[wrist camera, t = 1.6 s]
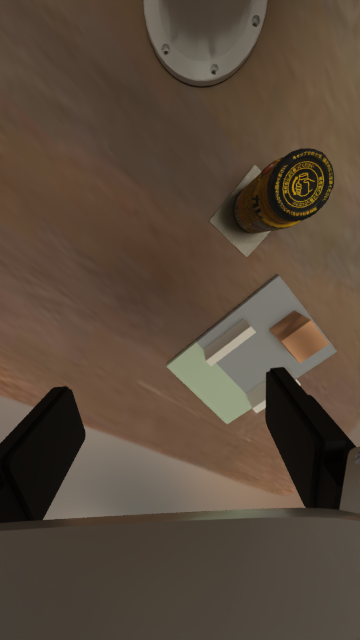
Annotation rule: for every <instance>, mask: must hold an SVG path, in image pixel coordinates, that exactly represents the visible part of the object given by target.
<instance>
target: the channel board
mask: <svg viewBox="0 0 360 640" xmlns="http://www.w3.org/2000/svg"><path fill="white" fill-rule="evenodd" d="M294 310H295V311H296V312H298V313H300V314H302V315H303V316H305V317H307V318H309V319H310V320H312V322H313V323H314V324H315V326H316V327H317V328H318V330H319V331H320V332H321V334H322V335H323V336H324V337H325V339H326V340H327V341H328V343H329V344H328V345H327V346H325V347H324V348H322V349H321V350H319V351H318V352H316V353H315V354H313V355H312V356H311V357H309V358H308V359H306V360H305V361H303V362H302V363H299V362H298V361H297V360H296V359H295V358H294V357H293V356H292V355H291V354H290V353H289V352H288V351H287V350H286V349H285V348H284V347H283V345H282V344H281V343H280V342H279V341H278V339H277V338H276V337H275V336H274V335H273V333H272V332H271V331H270V330H269V329H270V328H271V327H273V326H274V325H275V324H277V323H278V322H279V321H281V320H282V319H283V318H285V317H286V316H287V315H289V314H290V313H291V312H293V311H294ZM336 352H337V351H336V350H335V348H334V347H333V346H332V344H331V343H330V342H329V340H328V339H327V338H326V336H325V335H324V334H323V332H322V331H321V330H320V328H319V327H318V326H317V325H316V323H315V322H314V321H313V319H312V318H311V317H310V315H309V314H308V313H307V311H306V310H305V309H304V307H303V306H302V305H301V303H300V302H299V301H298V299H297V298H296V297H295V296H294V294H293V293H292V292H291V290H290V289H289V288H288V286H287V285H286V284H285V282H284V281H283V280H282V278H281V277H280V276H279V275H275V276H274V277H273V278H272V279H270V280H269V281H268V282H267V283H265V284H264V285H263V286H262V287H261V288H259V289H258V290H257V291H256V292H254V293H253V294H252V295H251V296H249V297H248V298H247V299H246V300H245V301H243V302H242V303H241V304H240V305H238V306H237V307H236V308H235V309H233V310H232V311H231V312H230V313H228V314H227V315H226V316H225V317H224V318H222V319H221V320H220V321H219V322H217V323H216V324H215V325H214V326H212V327H211V328H210V329H209V330H207V331H206V332H205V333H204V334H203V335H201V336H200V337H199V338H198V339H196V340H195V341H194V342H193V343H191V344H190V345H189V346H188V347H186V348H185V349H184V350H183V351H182V352H180V353H179V354H178V355H177V356H175V357H174V358H173V359H172V360H170V361H169V362H168V363H167V366H166V367H167V368H168V369H170V370H171V371H172V372H173V373H174V374H175V375H176V376H177V377H178V378H179V379H180V380H181V381H182V382H183V383H184V384H185V385H186V386H187V387H188V388H189V389H190V390H192V391H193V392H194V393H195V394H196V395H197V396H198V397H199V398H200V399H201V400H202V401H203V402H204V403H205V404H206V405H207V406H208V407H209V408H210V409H211V410H212V411H214V412H215V413H216V414H217V415H218V416H219V417H220V418H221V419H222V420H223V421H224V422H225V423H226V424H229V423H230V422H232V421H233V420H235V419H236V418H238V417H239V416H241V415H242V414H244V413H245V412H247V411H248V410H250V409H251V408H252V409H253V410H254V411H255V412H256V413H258V412H260V411H261V410H263V409H264V408H266V372H268V371H270V368H276V367H284V368H285V369H286V370H287V371H288V372H289V373H290V375H291V376H292V377H293V378H294V379H295V381H296V382H297V383H298V384H299V385H301V384H300V383H299V382H298V380H297V378H298V377H300V376H301V375H303V374H304V373H306V372H307V371H309V370H310V369H312V368H313V367H315V366H316V365H318V364H319V363H321V362H322V361H324V360H325V359H327V358H328V357H330V356H331V355H333V354H334V353H336Z"/></svg>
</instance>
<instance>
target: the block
mask: <svg viewBox="0 0 360 640" xmlns="http://www.w3.org/2000/svg"><path fill="white" fill-rule="evenodd" d="M269 330H270V331H271V332H272V333H273V335H274V336H275V337H276V338H277V339H278V341H279V342H280V343H281V344H282V345H283V347H284V348H285V349H286V350H287V351H288V352H289V353H290V354H291V355H292V356H293V357H294V358H295V359H296V360H297V361H298V362H299V363H302V362H303V361H305V360H306V359H308V358H309V357H311V356H312V355H313V354H315V353H316V352H318V351H319V350H321V349H322V348H324V347H325V346H327V345H328V344H329V343H328V341H327V340H326V339H325V337H324V336H323V335H322V334H321V332H320V331H319V330H318V328H317V327H316V326H315V324H314V323H313V322H312V320H310V319H309V318H307V317H305V316H303V315H302V314H300V313H298V312H296V311H295V310H294V311H293V312H291V313H290V314H289V315H287V316H286V317H285V318H283V319H282V320H281V321H279V322H278V323H277V324H275V325H274V326H273V327H271V328H270V329H269Z"/></svg>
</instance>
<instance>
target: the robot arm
mask: <svg viewBox="0 0 360 640" xmlns="http://www.w3.org/2000/svg"><path fill="white" fill-rule="evenodd" d="M267 2H268V0H143V4H144V15H145V21H146V27H147V31H148V35H149V39H150V42H151V44H152V47H153V49H154V51H155V53H156V55H157V57H158V58H159V60H160V62H161V63H162V65H163V66H164V67H165V68H166V69H167V70H168V71H169V72H170V73H171V74H172V75H173V76H174V77H176V78H177V79H179V80H180V81H182V82H185V83H187V84H190V85H195V86H209V85H214V84H217V83H219V82H222V81H224V80H225V79H227V78H229V77H230V76H232V75H233V74H234V73H235V72H236V71H237V70H238V69H239V68H240V67H241V66H242V65H243V64H244V62H245V61H246V60H247V58H248V57H249V56H250V54H251V52H252V50H253V48H254V46H255V44H256V42H257V39H258V37H259V34H260V31H261V29H262V25H263V22H264V18H265V15H266V9H267ZM165 54H167V55H165ZM212 73H214V74H215V75H214V74H212ZM265 418H266V424H267V427H268V429H269V431H270V433H271V435H272V437H273V440H274V442H275V444H276V446H277V448H278V450H279V453H280V455H281V457H282V459H283V461H284V463H285V465H286V468H287V470H288V472H289V474H290V476H291V478H292V480H293V483H294V485H295V487H296V489H297V491H298V493H299V496H300V498H301V500H302V502H303V504H304V506H305V507H306V508H274V509H244V510H223V511H201V512H180V513H162V514H161V513H160V514H143V515H142V514H141V515H123V516H105V517H87V518H72V519H71V518H70V519H54V520H43V518H44V516H45V515H46V512H47V511H48V509H49V507H50V505H51V503H52V501H53V499H54V497H55V495H56V493H57V492H58V490H59V488H60V486H61V484H62V482H63V480H64V478H65V476H66V474H67V472H68V470H69V468H70V467H71V465H72V463H73V461H74V459H75V457H76V455H77V453H78V451H79V449H80V448H81V446H82V444H83V442H84V440H85V429H84V426H83V423H82V420H81V417H80V414H79V411H78V408H77V405H76V402H75V398H74V395H73V392H72V390H71V389H69V388H68V387H66V386H64V387H54V388H52V389H51V390H50V391H49V392H48V394H47V395H46V396H45V397H44V398H43V399H42V400H41V401H40V402H39V403H38V404H37V405H36V406H35V407H34V408H33V409H32V410H31V412H30V413H29V414H28V415H27V416H26V417H25V418H24V419H23V420H22V421H21V422H20V423H19V424H18V425H17V427H16V428H15V429H14V430H13V431H12V432H11V433H10V434H9V435H8V436H7V437H6V438H5V439H4V440H3V441H2V442H1V443H0V640H360V447H356V446H355V445H354V444H353V443H352V441H351V440H350V439H349V438H348V437H347V436H346V434H345V433H344V432H343V431H342V430H341V429H340V427H339V426H338V425H337V424H336V423H335V422H334V421H333V419H332V418H331V417H330V416H329V415H328V414H327V412H326V411H325V410H324V409H323V408H322V407H321V406H320V404H319V403H318V402H317V401H316V400H315V399H314V398H313V397H312V396H311V395H307V394H306V393H305V391H304V390H303V389H302V388H301V387H300V385H299V384H298V383H297V382H296V381H295V379H294V378H293V377H292V376H291V375H290V373H289V372H288V371H287V370H286V369H285V368H284V367H276V368H270V371H268V372H266V415H265Z"/></svg>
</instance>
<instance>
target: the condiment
mask: <svg viewBox="0 0 360 640" xmlns="http://www.w3.org/2000/svg"><path fill="white" fill-rule="evenodd" d="M333 185H334V173H333V168H332V165H331V163H330V161H329V160H328V159H327V157H326V156H325V155H324V154H323V153H322V152H320V151H317V150H315V149H299V150H296V151H293V152H291V153H289V154H288V155H286V156H285V157H283V158H280V159H277V160H275V161H273V162H272V163H271V164H269V165H268V166H267V167H266V168H265V169H264V170H263V171H262V172H261V170H260V169H259V168H258V167H257V166H256V165H254V167H253V168H252V169H251V170H250V172H249V173H248V174H247V175H246V176H245V178H244V179H243V180H242V181H241V183H240V184H239V185H238V186H237V188H236V189H235V190H234V191H233V192H232V194H231V195H230V196H229V197H228V199H227V200H226V201H225V202H224V204H223V205H222V206H221V207H220V208H219V210H218V211H217V212H216V213H215V215H214V216H213V217H212V218H211V220H210V222H211V223H212V224H213V225H214V226H215V227H216V228H217V229H218V230H219V231H220V232H221V233H222V234H223V235H224V236H225V237H226V238H227V239H228V240H229V241H230V242H231V243H232V244H233V245H234V246H236V247H237V248H238V249H239V250H240V251H241V252H242V253H243V254H244V255H245V256H246V257H248V256H249V255H250V254H251V252H252V251H253V250H254V249H255V248H256V247H257V246H258V245H259V244H260V242H261V241H262V240H263V239H264V238H265V237H266V236H267V235H268V234H269V232H270V231H274V230H278V229H284V228H288V227H290V226H293V225H295V224H297V223H299V222H300V221H302V220H304V219H307V218H308V217H311V216H312V215H314V214H315V213H316V212H317V211H318V210H319V209H320V208H321V207H322V206H323V205H324V204H325V203H326V201H327V200H328V198H329V195H330V193H331V190H332V188H333ZM248 234H250V235H248ZM245 235H247V236H245Z"/></svg>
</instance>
